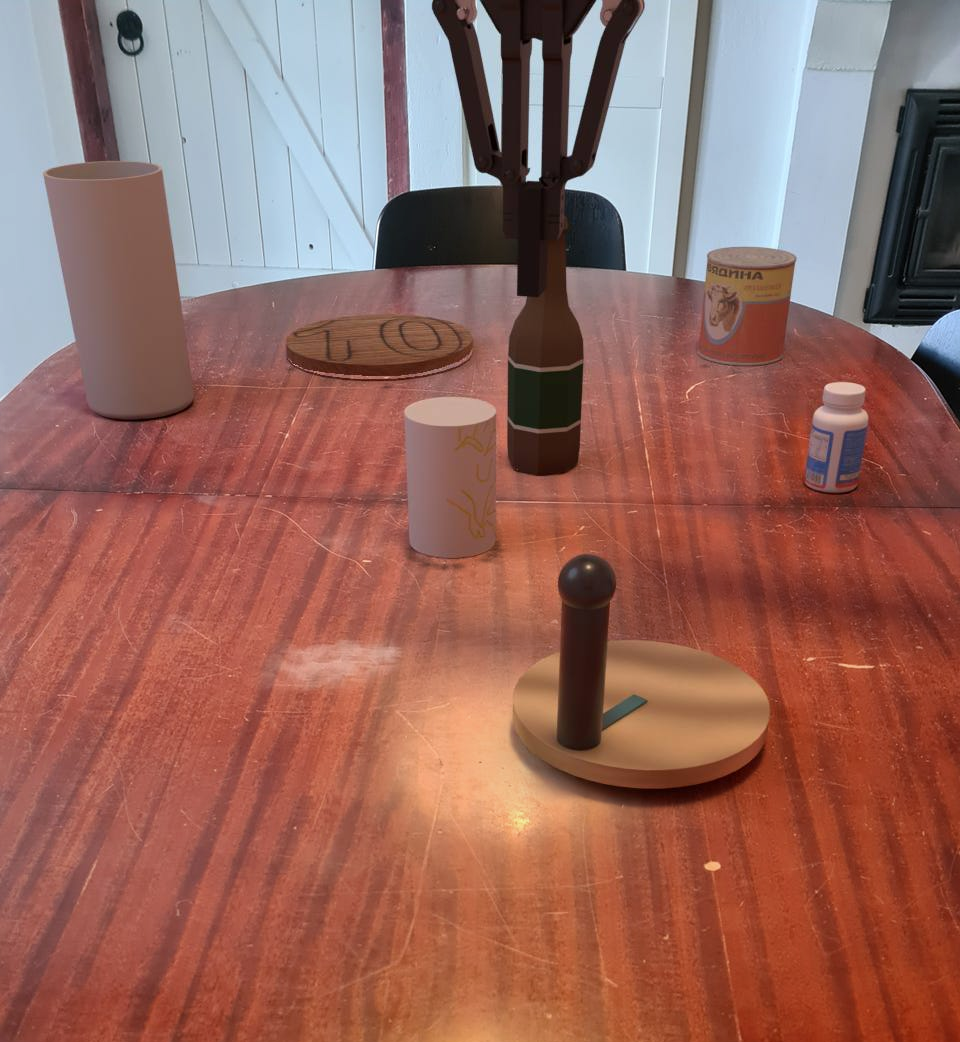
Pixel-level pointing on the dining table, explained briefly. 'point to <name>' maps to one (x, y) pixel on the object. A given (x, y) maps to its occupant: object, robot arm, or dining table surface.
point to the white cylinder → (451, 476)
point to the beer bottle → (546, 376)
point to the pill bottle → (837, 439)
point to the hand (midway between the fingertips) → (531, 291)
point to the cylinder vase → (121, 286)
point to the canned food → (746, 305)
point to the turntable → (633, 699)
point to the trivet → (378, 345)
